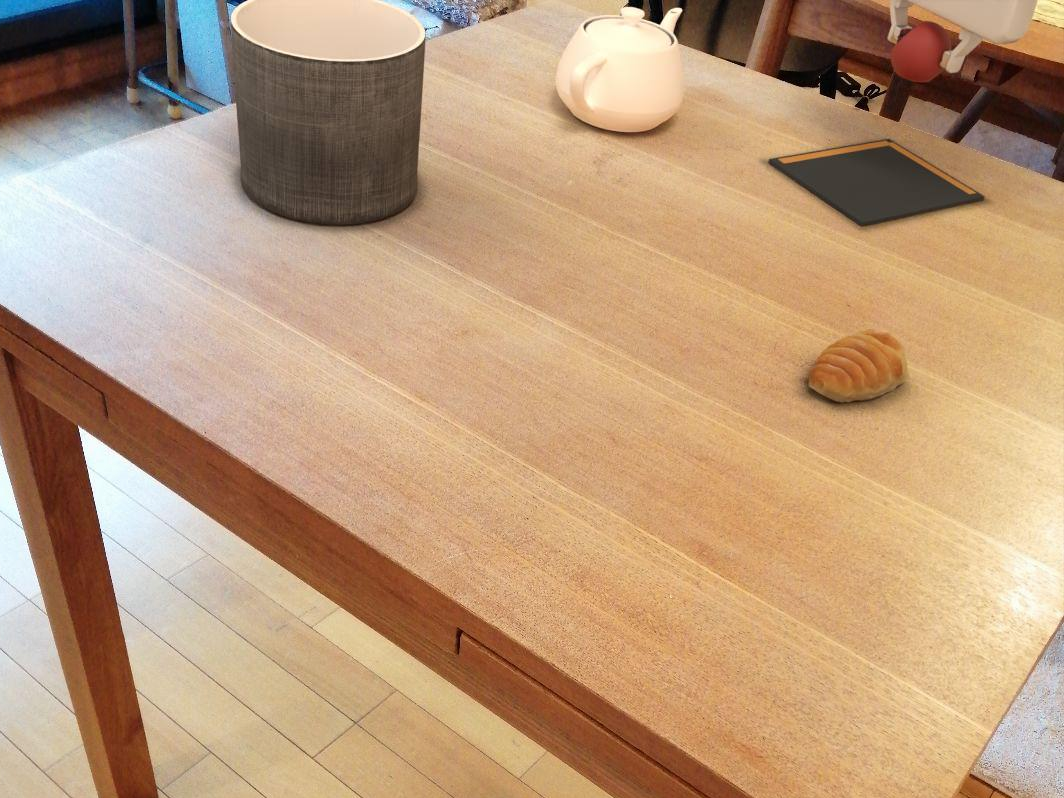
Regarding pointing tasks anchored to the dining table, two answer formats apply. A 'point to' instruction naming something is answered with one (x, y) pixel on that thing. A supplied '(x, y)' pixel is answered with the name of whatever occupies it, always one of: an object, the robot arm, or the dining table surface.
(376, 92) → the planter
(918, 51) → the fruit
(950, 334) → the dining table surface
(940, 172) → the corner mat
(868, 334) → the pastry
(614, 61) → the teapot
